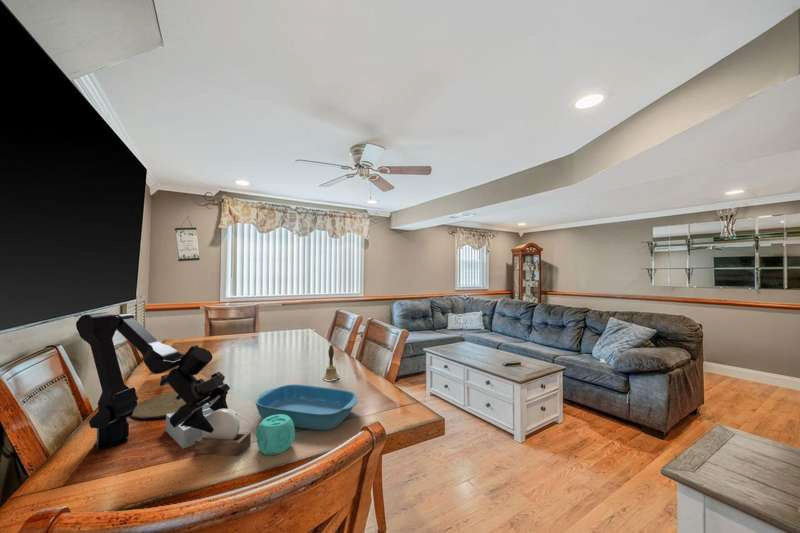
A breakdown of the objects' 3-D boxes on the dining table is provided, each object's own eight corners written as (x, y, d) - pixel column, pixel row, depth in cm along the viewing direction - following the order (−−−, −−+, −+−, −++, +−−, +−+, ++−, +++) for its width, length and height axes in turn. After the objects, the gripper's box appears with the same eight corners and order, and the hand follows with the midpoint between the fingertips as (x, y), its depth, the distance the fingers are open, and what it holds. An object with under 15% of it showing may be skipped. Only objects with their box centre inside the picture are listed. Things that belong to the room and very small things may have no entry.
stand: (194, 453, 89) (195, 440, 89) (209, 442, 95) (209, 430, 95) (238, 455, 88) (239, 442, 89) (250, 444, 94) (250, 432, 94)
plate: (237, 444, 90) (232, 409, 91) (204, 449, 91) (199, 414, 91) (242, 440, 93) (237, 406, 93) (210, 444, 93) (205, 410, 94)
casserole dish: (366, 409, 119) (366, 390, 120) (341, 439, 98) (341, 416, 98) (281, 399, 129) (281, 381, 129) (241, 424, 107) (241, 403, 107)
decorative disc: (178, 384, 140) (237, 385, 134) (178, 391, 140) (237, 393, 134) (106, 411, 112) (177, 415, 106) (106, 421, 112) (177, 425, 106)
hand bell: (319, 380, 151) (319, 346, 151) (327, 375, 159) (328, 343, 159) (334, 382, 148) (335, 348, 149) (342, 376, 156) (343, 344, 157)
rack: (183, 448, 92) (183, 430, 92) (165, 430, 102) (166, 414, 102) (236, 429, 103) (236, 413, 103) (216, 414, 114) (216, 400, 114)
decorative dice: (281, 437, 98) (281, 411, 98) (295, 447, 93) (295, 419, 93) (255, 448, 92) (256, 420, 92) (268, 458, 87) (269, 429, 87)
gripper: (180, 376, 84) (220, 420, 83) (225, 357, 102) (257, 393, 101) (152, 405, 84) (190, 449, 83) (201, 381, 103) (233, 417, 102)
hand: (221, 424), depth 92 cm, fingers open, 8 cm apart
